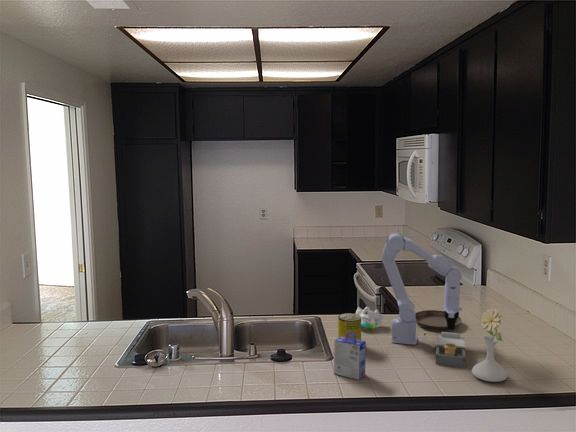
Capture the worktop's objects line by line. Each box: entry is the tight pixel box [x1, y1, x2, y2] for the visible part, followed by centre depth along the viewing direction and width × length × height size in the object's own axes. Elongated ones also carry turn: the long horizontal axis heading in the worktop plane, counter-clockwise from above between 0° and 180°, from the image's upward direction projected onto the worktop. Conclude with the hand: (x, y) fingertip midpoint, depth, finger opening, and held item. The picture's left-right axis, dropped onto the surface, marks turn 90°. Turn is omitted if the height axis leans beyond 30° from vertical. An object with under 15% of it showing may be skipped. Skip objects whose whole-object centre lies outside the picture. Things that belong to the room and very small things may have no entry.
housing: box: [435, 345, 466, 368], centre depth 193 cm, size 10×18×4 cm, turn 162°
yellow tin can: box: [337, 312, 362, 340], centre depth 203 cm, size 9×9×12 cm
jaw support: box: [355, 306, 384, 330], centre depth 224 cm, size 12×9×10 cm
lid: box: [436, 331, 466, 348], centre depth 196 cm, size 10×10×2 cm
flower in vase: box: [471, 308, 508, 383], centre depth 172 cm, size 13×11×25 cm
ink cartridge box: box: [333, 332, 367, 380], centre depth 177 cm, size 10×6×14 cm, turn 58°
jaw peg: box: [444, 343, 456, 356], centre depth 188 cm, size 4×4×6 cm
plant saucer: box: [415, 309, 462, 332], centre depth 227 cm, size 21×21×3 cm
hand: (450, 329), depth 204 cm, fingers closed
